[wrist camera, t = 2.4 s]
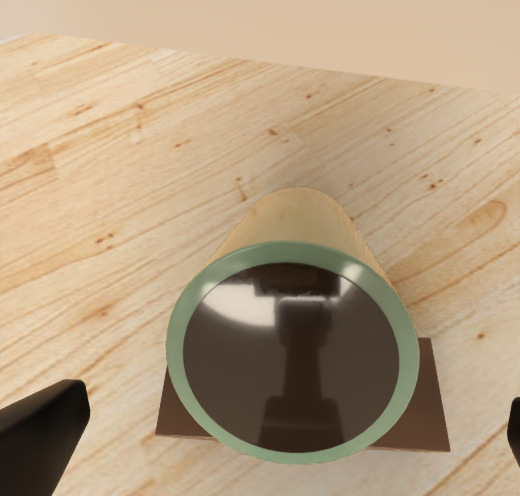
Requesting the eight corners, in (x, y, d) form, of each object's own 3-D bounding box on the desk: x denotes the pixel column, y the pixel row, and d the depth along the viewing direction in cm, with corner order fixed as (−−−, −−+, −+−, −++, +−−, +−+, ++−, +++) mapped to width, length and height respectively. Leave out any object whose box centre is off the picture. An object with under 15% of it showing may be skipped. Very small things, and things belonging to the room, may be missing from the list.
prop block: (428, 452, 17) (451, 452, 14) (176, 438, 18) (154, 435, 15) (413, 353, 19) (430, 337, 16) (189, 347, 20) (172, 332, 18)
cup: (367, 464, 17) (481, 485, 6) (230, 455, 17) (101, 459, 7) (348, 231, 23) (386, 27, 12) (248, 232, 24) (197, 42, 13)
